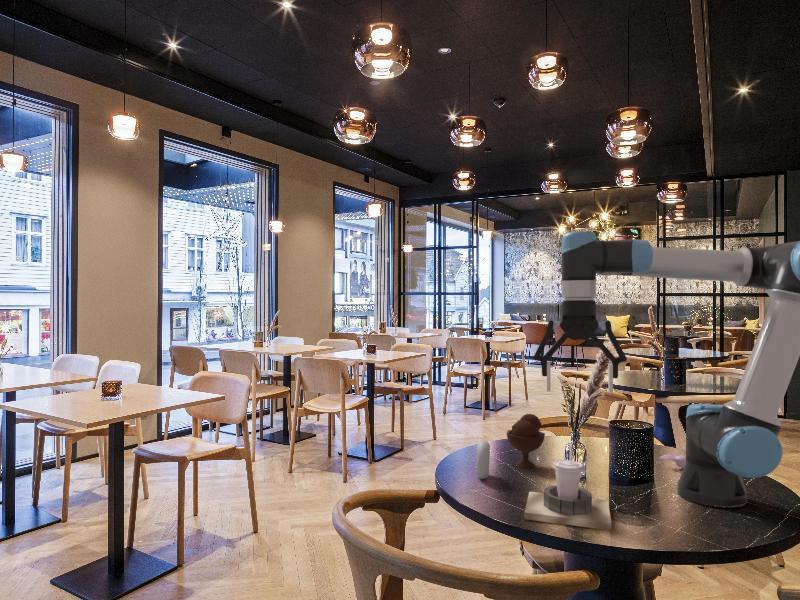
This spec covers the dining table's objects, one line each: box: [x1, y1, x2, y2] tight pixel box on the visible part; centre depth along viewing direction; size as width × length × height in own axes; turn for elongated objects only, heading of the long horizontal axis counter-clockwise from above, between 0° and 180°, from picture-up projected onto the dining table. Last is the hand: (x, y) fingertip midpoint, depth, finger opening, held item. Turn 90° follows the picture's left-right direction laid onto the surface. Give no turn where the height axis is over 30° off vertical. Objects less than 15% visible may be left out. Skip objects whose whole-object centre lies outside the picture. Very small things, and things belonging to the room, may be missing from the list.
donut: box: [475, 440, 491, 480], centre depth 152 cm, size 10×4×10 cm, turn 171°
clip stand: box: [524, 484, 612, 531], centre depth 129 cm, size 18×14×4 cm
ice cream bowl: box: [506, 413, 546, 470], centre depth 164 cm, size 11×11×15 cm
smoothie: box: [553, 444, 584, 500], centre depth 129 cm, size 6×6×14 cm
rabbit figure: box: [659, 454, 686, 469], centre depth 162 cm, size 6×6×15 cm
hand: (579, 391), depth 130 cm, fingers open, 13 cm apart
